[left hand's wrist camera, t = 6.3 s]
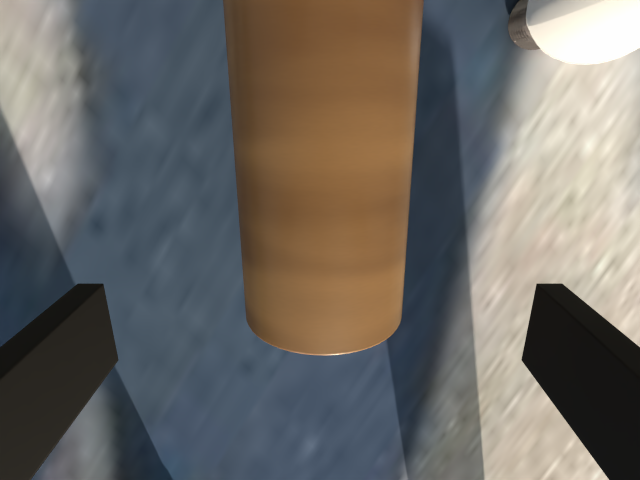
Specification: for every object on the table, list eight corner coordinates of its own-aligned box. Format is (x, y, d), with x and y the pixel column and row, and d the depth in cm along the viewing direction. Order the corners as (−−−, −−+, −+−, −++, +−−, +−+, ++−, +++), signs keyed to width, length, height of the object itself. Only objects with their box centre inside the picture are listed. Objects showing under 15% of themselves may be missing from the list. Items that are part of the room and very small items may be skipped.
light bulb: (503, 85, 30) (599, 83, 20) (478, -13, 28) (571, -72, 18) (596, 45, 30) (746, 22, 19) (577, -59, 28) (735, -148, 17)
